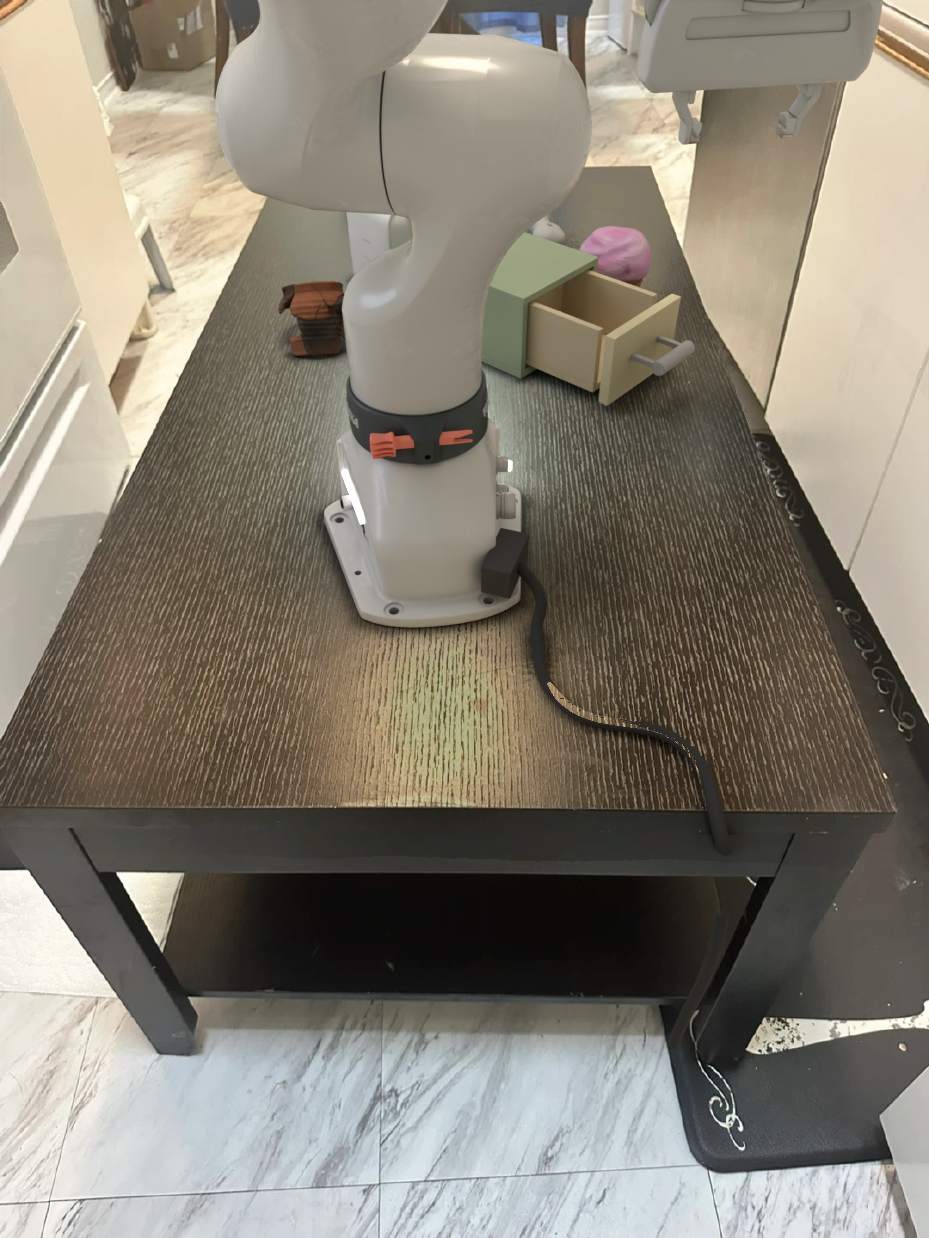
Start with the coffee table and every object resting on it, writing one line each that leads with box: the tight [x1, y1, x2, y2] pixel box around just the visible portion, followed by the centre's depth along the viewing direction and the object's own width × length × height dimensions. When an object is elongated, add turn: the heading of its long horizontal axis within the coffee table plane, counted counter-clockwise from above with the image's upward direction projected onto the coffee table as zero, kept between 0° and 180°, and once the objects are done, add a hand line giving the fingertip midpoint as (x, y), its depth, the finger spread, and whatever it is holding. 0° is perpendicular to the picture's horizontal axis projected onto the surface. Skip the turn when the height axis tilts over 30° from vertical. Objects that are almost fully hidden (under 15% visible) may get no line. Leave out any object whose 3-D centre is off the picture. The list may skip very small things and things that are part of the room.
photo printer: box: [345, 212, 412, 276], centre depth 113 cm, size 10×4×12 cm, turn 39°
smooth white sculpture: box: [527, 213, 566, 246], centre depth 125 cm, size 4×8×5 cm
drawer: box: [525, 270, 696, 407], centre depth 98 cm, size 20×12×8 cm, turn 48°
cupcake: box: [579, 225, 652, 288], centre depth 109 cm, size 9×9×10 cm
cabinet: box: [482, 231, 599, 380], centre depth 105 cm, size 17×14×10 cm
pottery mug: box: [277, 280, 346, 357], centre depth 106 cm, size 12×10×8 cm
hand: (737, 139), depth 82 cm, fingers open, 8 cm apart
